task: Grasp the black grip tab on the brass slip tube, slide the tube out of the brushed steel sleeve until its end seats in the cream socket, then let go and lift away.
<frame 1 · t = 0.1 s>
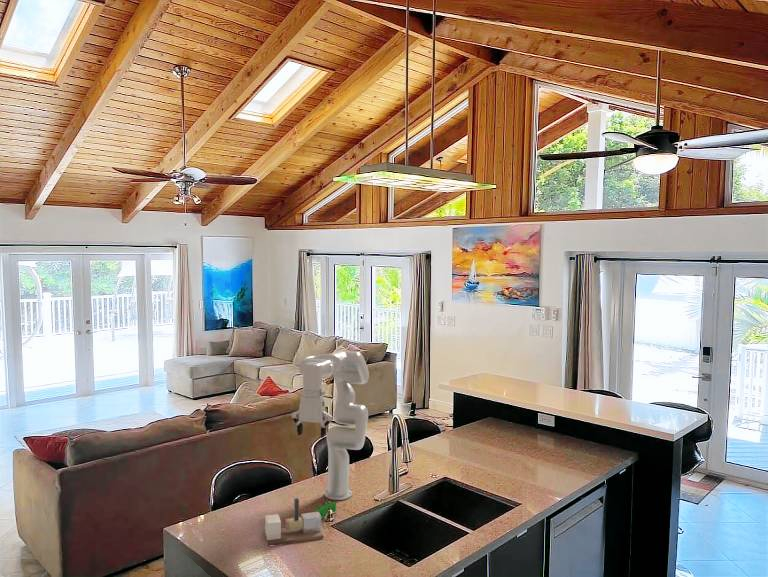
hand: (311, 435, 232), 37 cm above the worktop, tool pointing down, fingers open, 9 cm apart
base board: (293, 535, 225), on the worktop
socket: (272, 538, 223), resting on base board
pipe clamp: (324, 516, 244), on the worktop
sleeve: (311, 532, 228), resting on base board
slip tube: (302, 512, 226), point 9 cm above the worktop, slide at 0.0 cm
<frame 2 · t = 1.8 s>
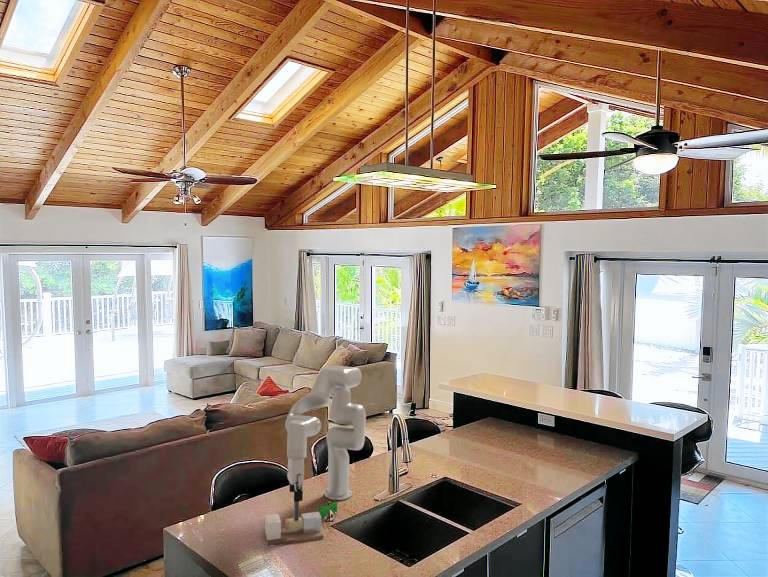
hand: (295, 496, 225), 16 cm above the worktop, tool pointing down, fingers open, 9 cm apart
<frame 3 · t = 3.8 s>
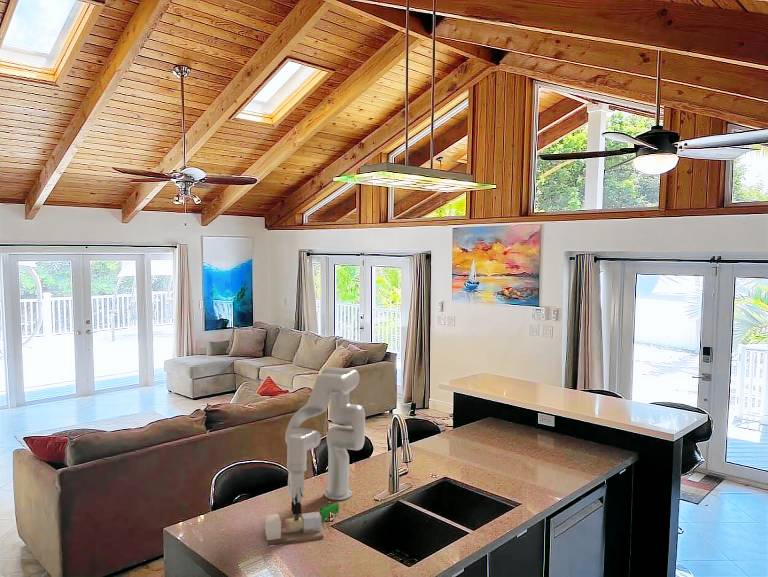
hand: (296, 512, 225), 9 cm above the worktop, tool pointing down, fingers closed on slip tube, 2 cm apart
slip tube: (302, 512, 226), point 9 cm above the worktop, slide at 0.0 cm, touching gripper
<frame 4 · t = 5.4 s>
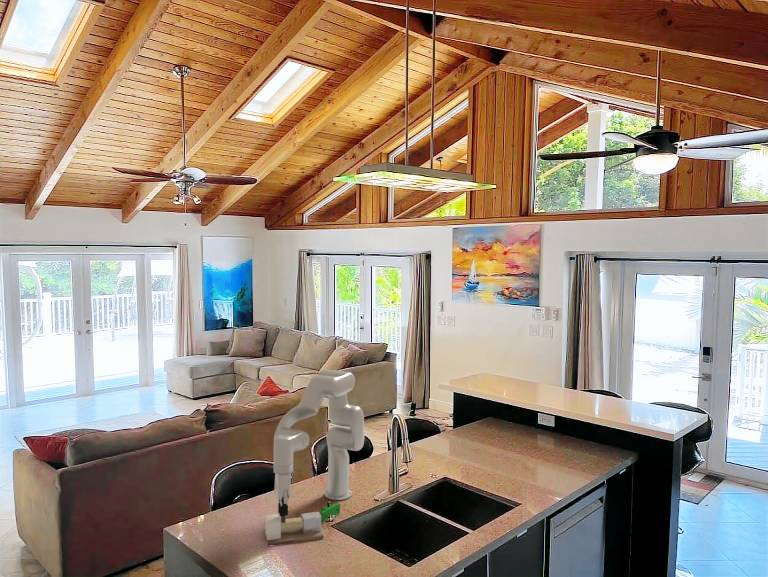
hand: (283, 513, 224), 9 cm above the worktop, tool pointing down, fingers closed on slip tube, 2 cm apart
slip tube: (289, 514, 224), point 9 cm above the worktop, slide at 5.2 cm, touching gripper
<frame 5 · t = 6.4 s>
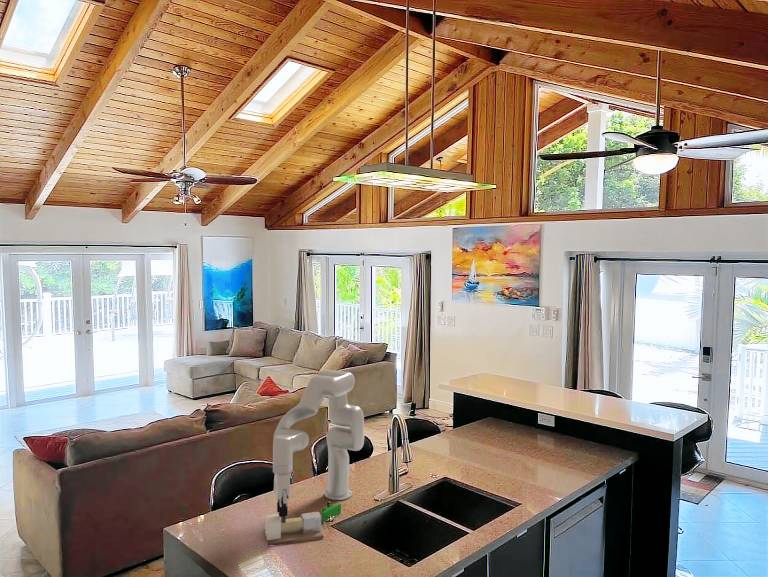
hand: (282, 513, 223), 9 cm above the worktop, tool pointing down, fingers open, 3 cm apart
slip tube: (289, 514, 225), point 9 cm above the worktop, slide at 5.0 cm
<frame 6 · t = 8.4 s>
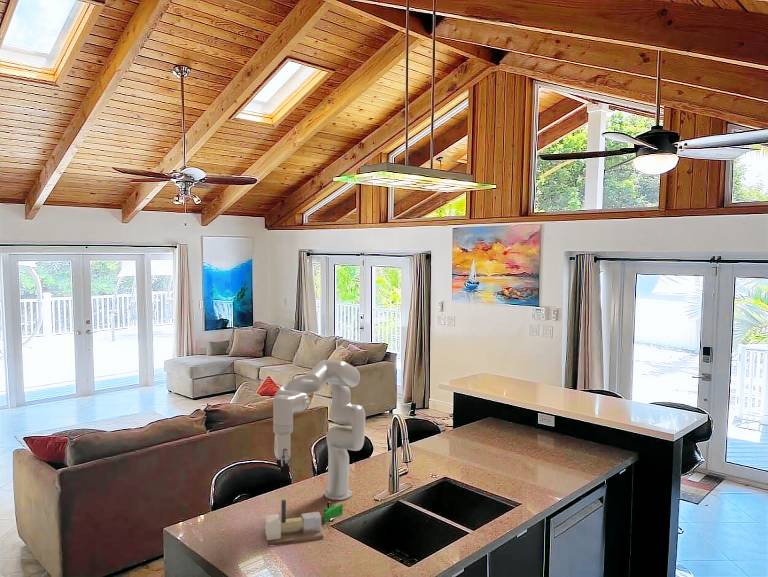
hand: (282, 471, 223), 26 cm above the worktop, tool pointing down, fingers open, 9 cm apart
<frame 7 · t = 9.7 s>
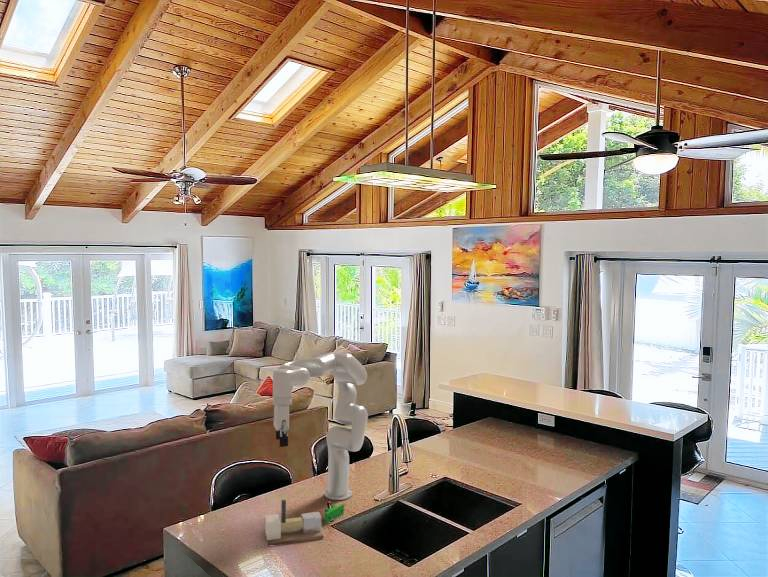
hand: (281, 442, 231), 34 cm above the worktop, tool pointing down, fingers open, 9 cm apart
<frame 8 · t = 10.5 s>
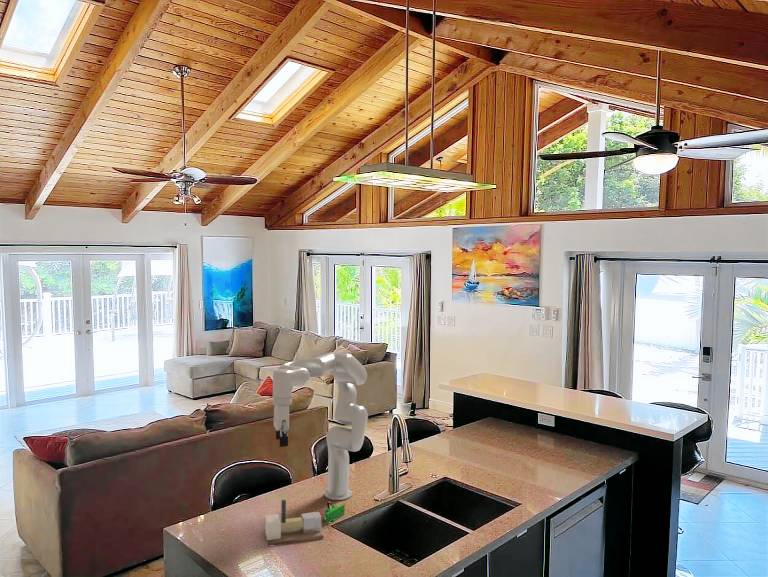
hand: (281, 442, 231), 34 cm above the worktop, tool pointing down, fingers open, 9 cm apart
at the end: slip tube slide at 5.0 cm; the gripper is holding nothing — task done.
